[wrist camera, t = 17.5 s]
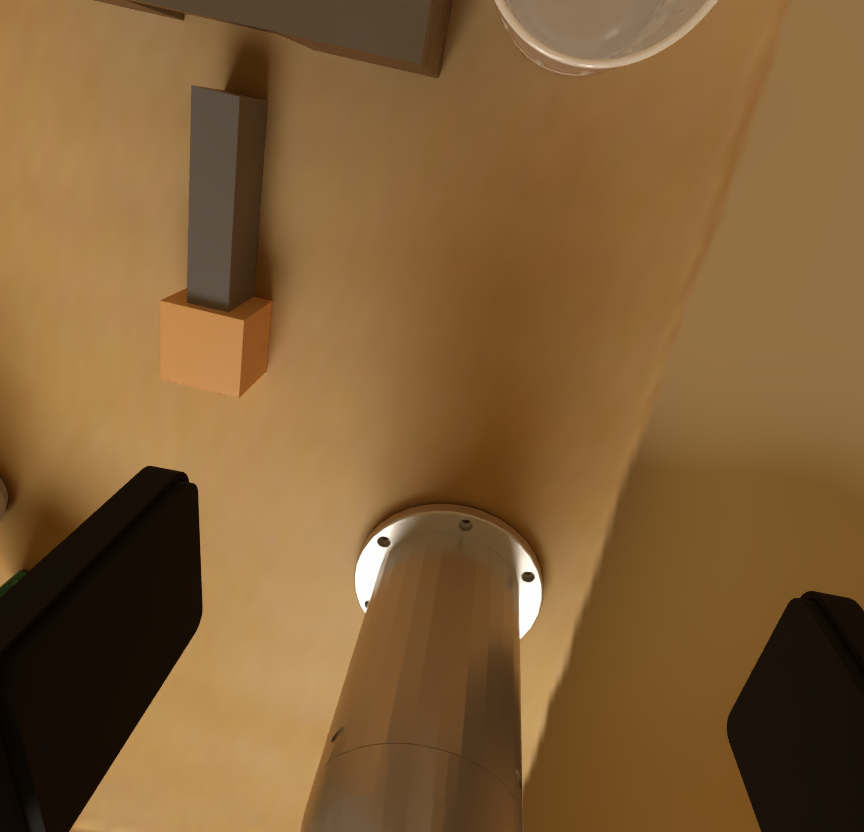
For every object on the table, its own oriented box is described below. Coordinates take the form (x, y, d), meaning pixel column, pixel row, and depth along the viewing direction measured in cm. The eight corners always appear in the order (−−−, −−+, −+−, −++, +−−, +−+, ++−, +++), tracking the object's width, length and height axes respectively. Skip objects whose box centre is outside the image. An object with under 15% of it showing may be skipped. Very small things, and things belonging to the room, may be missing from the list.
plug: (266, 371, 36) (238, 397, 32) (195, 354, 36) (160, 378, 32) (289, 105, 29) (258, 101, 26) (203, 85, 29) (160, 78, 26)
